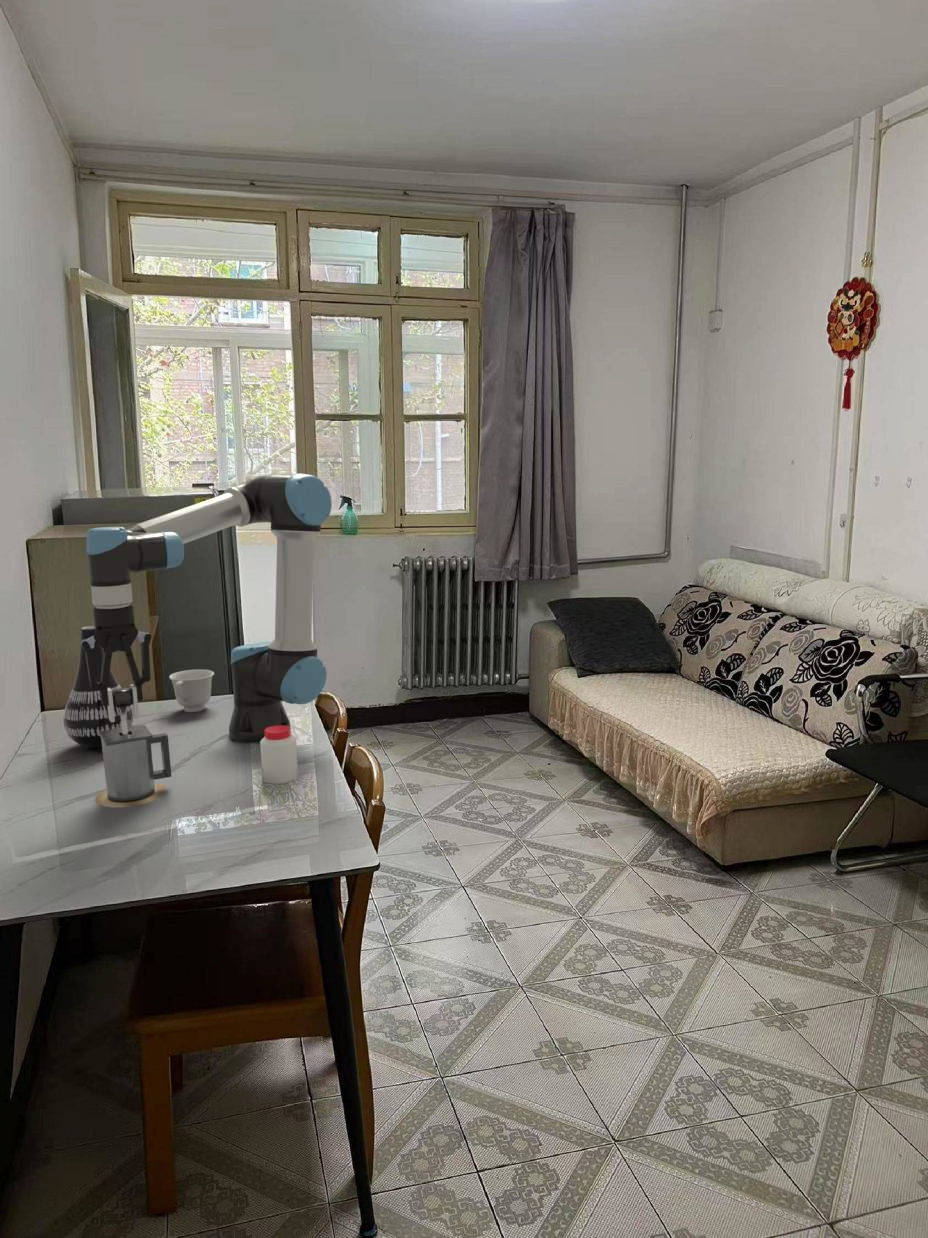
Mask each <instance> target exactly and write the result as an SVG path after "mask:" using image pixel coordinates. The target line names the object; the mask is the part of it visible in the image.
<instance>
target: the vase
mask: <svg viewBox="0 0 928 1238" xmlns="http://www.w3.org/2000/svg"><path fill="white" fill-rule="evenodd" d="M94 631H95V625H94V626H93V625H90V626H83V627H81V629H80V641H81V640H83V639H85V640H86V639H88V638H90V637H92V636H93V633H94ZM92 651H93V655H94V662H95V669H96V676H97V682H100V677H101V669H102V660H103V648H102V647H101V646H100V645H99V644H98V642H97V641H95V642H94V648H93V649H92ZM108 688H110V689H111V690H114V689H119V688H122V687H121V685H120V684H119V682H118V681H117V679H116V676H115V675H114V673H113V671H112V668H110V673H109V682H108ZM65 704H66V705H65V708H64V711H63V726H64V730H65V733H66V735H67V736H68V737H69V738H70V739H71V740H72V741H74V742H75V743H76V744H78V745H80V746H82V747H86V748H87V749H89V750H94V751H96V750H98V751H99V750H102V741H101V737H100V735H99V732H100V731H107V730H113V729H119V728H122V725H121V715H120V707H114V717H115V722H110V720H109V715H108V706H103V704H102V702H101V692H100V690H98V689H93V688H92V687H91V686H90V683H89V676H88V669H87V662H86V655H85V650H84V649H83V647H82V645H81V644H80V650H79V659H78V665H77V670H76V676H75V679H74V682H73V687H72V688H71V691H70V694H69V697H68V699H67V702H66V703H65ZM126 711H127V722H128V727H131V726H133V724H134V716H133V711H132V705H131V706H127V707H126Z"/></svg>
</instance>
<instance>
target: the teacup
mask: <svg viewBox="0 0 928 1238" xmlns="http://www.w3.org/2000/svg"><path fill="white" fill-rule="evenodd" d="M214 675H215V672H214V671H213V670H210V669H205V668H204V669H199V668H198V669H195V668H194V669H186V670H180V671H177V672H174V673H171V674H170V675H169V677H168V678H169V679H170V680H171V683H172V686H173V690H174V696H175V699H176V702H177V703H178V705H180V706H182V707H183V712H186V713H196V712H197V713H198V712H201V711H204V710H205V709H206V706H205V705H206V704H207V703H208V702H209V701H210V700H211V697H212V696H211V695H212V679H213V676H214ZM203 709H204V710H203Z"/></svg>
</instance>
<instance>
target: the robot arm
mask: <svg viewBox="0 0 928 1238" xmlns="http://www.w3.org/2000/svg"><path fill="white" fill-rule="evenodd" d="M332 505H333V501H332V496H331V493H330V491H329V489H328V486H327V485H325V483H324V482H323V480H322V479H320V478H319V477H317V476H315V475H313V474H307V473H306V474H305V473H281V474H277V473H270V474H264V475H260V476H257V477H254V478H252V479H250V480H247V481H245V482H241V483H239V484H237V485H234V486H230V487H227V488H226V489H225V490H224V491H223V494H221V495H218V496H215V497H213V498H209V499H206V500H203V501H201V502H198V503H194V504H192V505H189V506H186V507H183V508H180V509H178V510H174V511H172V512H168V513H166V514H163V515H160V516H157V517H153V518H151V519H149V520H145V521H143V522H140V523H136V524H134V525H131V526H128V527H123V526H107V527H106V526H104V527H94V528H90V529H89V530H88V531H87V532H86V540H85V541H86V554H87V562H88V572H89V579H90V589H91V601H92V605H93V606H94V607H93V609H92V613H93V622H94V626H95V631H94V633H93V636H92V637H90V638H88V639H86V640H85V639H83V640H81V639H80V642H79V643H80V646H81V645H82V647H83V649H84V650H85V655H86V662H87V669H88V676H89V683H90V686H91V687H92V688H93V689H98V690H100V692H101V702H102V704H103V706H108V715H109V720H110V722H115V717H114V707H113V696H112V690H111V689H110V688H108V682H109V673H110V669H111V664H112V657H113V653H115V652H123V654H124V656H125V660H126V664H127V666H128V670H129V672H130V673H129V674H130V675H131V679H132V681H133V684H129V688H131V689H132V697H133V704H132V705H131V707H132V711H133V718H134V719H140V713H139V704H138V703H139V701H143V687H142V686H143V684H145V683H148V682H150V681H151V679H152V678H151V664H150V663H151V661H150V644H151V641H152V635H151V634H150V633H149V632H147V631H146V632H144V631H141V630H140V631H139V629H138V628H137V626H136V624H135V612H134V611H135V610H134V606H133V604H131V603H132V602H133V601H134V600H133V591H132V580H131V577H132V576H131V574H134V573H135V574H136V573H138V572H148V571H149V572H150V571H157V570H168V569H171V568H176V567H179V566H180V565H181V564H182V562H183V561H184V557H185V545H184V544H187V543H190V542H192V541H195V540H198V539H201V538H204V537H206V536H209V535H211V534H213V533H214V534H215V533H217V532H219V531H222V530H225V529H227V528H230V527H233V526H237V527H246V526H248V525H251V524H256V523H257V524H258V523H260V524H261V523H270V532H271V533H272V534H273V535H274V537H276V565H275V567H276V568H275V569H276V571H275V572H276V574H275V575H276V576H275V577H276V578H275V579H276V580H275V609H274V610H275V613H274V614H275V618H274V620H275V622H274V639H273V640H272V641H261V642H254V643H249V644H245V645H239V646H236V647H234V648H233V649H231V651H230V666H231V667H230V669H231V679H232V692H233V705H234V706H233V711H232V713H231V714H232V715H231V718H230V722H229V726H228V737H229V738H230V739H231V740H232V741H235V742H239V743H249V744H250V743H251V744H253V743H260V741H261V740H262V739H263V738H264V737H265V731H264V730H265V729H266V728H268V727H271V726H277V725H284V726H289V727H290V732H291V733H292V730H291V727H292V726H291V722H290V718H289V716H288V714H287V712H286V709H285V707H284V704H283V702H285V703H287V704H290V705H292V704H293V705H306V704H310V703H311V702H313V701H314V700H316V699H317V698H318V696H319V695H320V694H321V693H322V691H323V690H324V688H325V686H326V683H327V678H328V677H327V675H328V672H327V668H326V665H325V664H324V662H323V661H322V660H321V659H320V658H319V657H318V646H317V644H316V643H314V642H313V640H312V625H313V623H312V621H313V591H314V590H313V589H314V587H313V586H314V583H313V582H314V557H315V556H314V550H315V539H316V538H317V537H318V536H319V535H320V534H321V531H322V524H323V523H325V522H326V521H327V520H328V517H329V516H330V514H331V511H332ZM136 638H138V642H139V643H140V661H141V662H140V663H141V675H140V673H139V670H138V666H137V664H136V660H135V657H134V654H133V653H134V652H133V651H132V647H131V646H133V643H134V642H135V640H136ZM95 641H97V642H98V644H99V645H100V646H101V647H102V648H103V660H102V669H101V677H100V682H97V676H96V669H95V662H94V655H93V651H92V649H93V648H94V642H95Z"/></svg>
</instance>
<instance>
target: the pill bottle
mask: <svg viewBox="0 0 928 1238" xmlns="http://www.w3.org/2000/svg"><path fill="white" fill-rule="evenodd" d="M290 727H291V726H290ZM290 727H289V726H284V725H277V726H271V727H268V728H266V729H265V730H264V731H265V737H264V738H263V739H262V740H261V741H260V742H259V747H260V751H259V752H260V762H261V778H262V781H263V782H265V783H267V784H272V785H274V784H277V785H280V784H287V783H290V782H293V781H295V780H297V779H298V778H299V763H298V759H299V758H298V744H297V743H298V742H297V738H296V737H295V736H294V735H293V734H291V733H292V731H291V732H290Z"/></svg>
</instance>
